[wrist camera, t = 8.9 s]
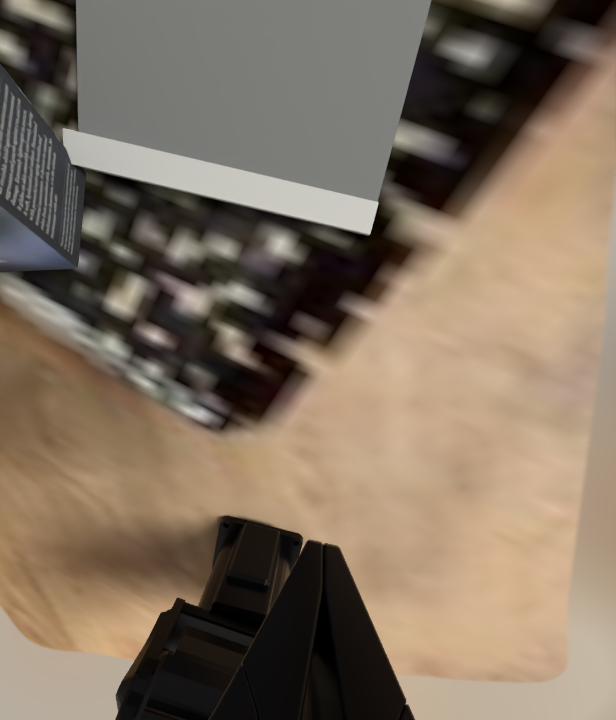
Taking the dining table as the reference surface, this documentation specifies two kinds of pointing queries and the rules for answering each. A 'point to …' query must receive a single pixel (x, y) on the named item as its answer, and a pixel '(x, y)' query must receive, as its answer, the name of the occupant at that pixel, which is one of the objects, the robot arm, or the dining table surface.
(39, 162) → the small box
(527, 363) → the dining table surface
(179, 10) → the mat
